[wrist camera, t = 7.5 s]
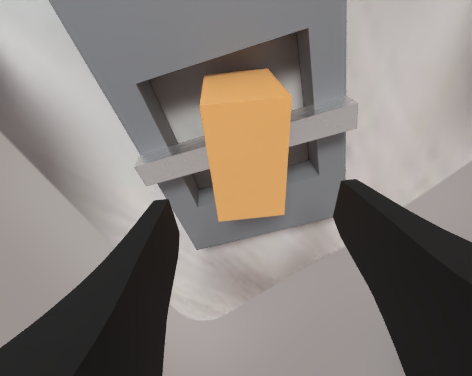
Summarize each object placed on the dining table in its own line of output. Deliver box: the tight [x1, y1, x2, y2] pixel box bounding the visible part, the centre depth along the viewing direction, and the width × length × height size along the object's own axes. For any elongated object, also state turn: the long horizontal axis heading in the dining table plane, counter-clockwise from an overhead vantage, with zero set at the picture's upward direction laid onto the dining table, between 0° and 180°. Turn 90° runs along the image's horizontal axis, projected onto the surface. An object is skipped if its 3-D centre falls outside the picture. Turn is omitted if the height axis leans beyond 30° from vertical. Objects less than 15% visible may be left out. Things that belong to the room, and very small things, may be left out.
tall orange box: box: [199, 68, 292, 222], centre depth 15 cm, size 4×7×6 cm, turn 4°
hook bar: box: [134, 95, 358, 186], centre depth 16 cm, size 14×2×2 cm, turn 105°
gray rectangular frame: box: [49, 0, 346, 250], centre depth 17 cm, size 14×20×2 cm
